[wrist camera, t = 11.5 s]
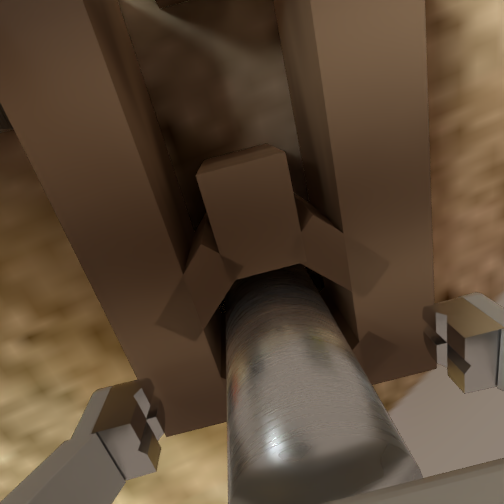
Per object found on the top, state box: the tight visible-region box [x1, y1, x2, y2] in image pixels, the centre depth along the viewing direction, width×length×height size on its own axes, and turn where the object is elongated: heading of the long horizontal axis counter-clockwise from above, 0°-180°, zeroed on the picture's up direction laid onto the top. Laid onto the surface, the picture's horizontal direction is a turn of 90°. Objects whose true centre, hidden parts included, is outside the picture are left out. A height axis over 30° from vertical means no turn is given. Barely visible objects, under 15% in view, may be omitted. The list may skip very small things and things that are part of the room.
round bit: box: [225, 263, 423, 504], centre depth 10 cm, size 4×4×9 cm
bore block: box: [0, 0, 437, 437], centre depth 11 cm, size 15×10×4 cm
